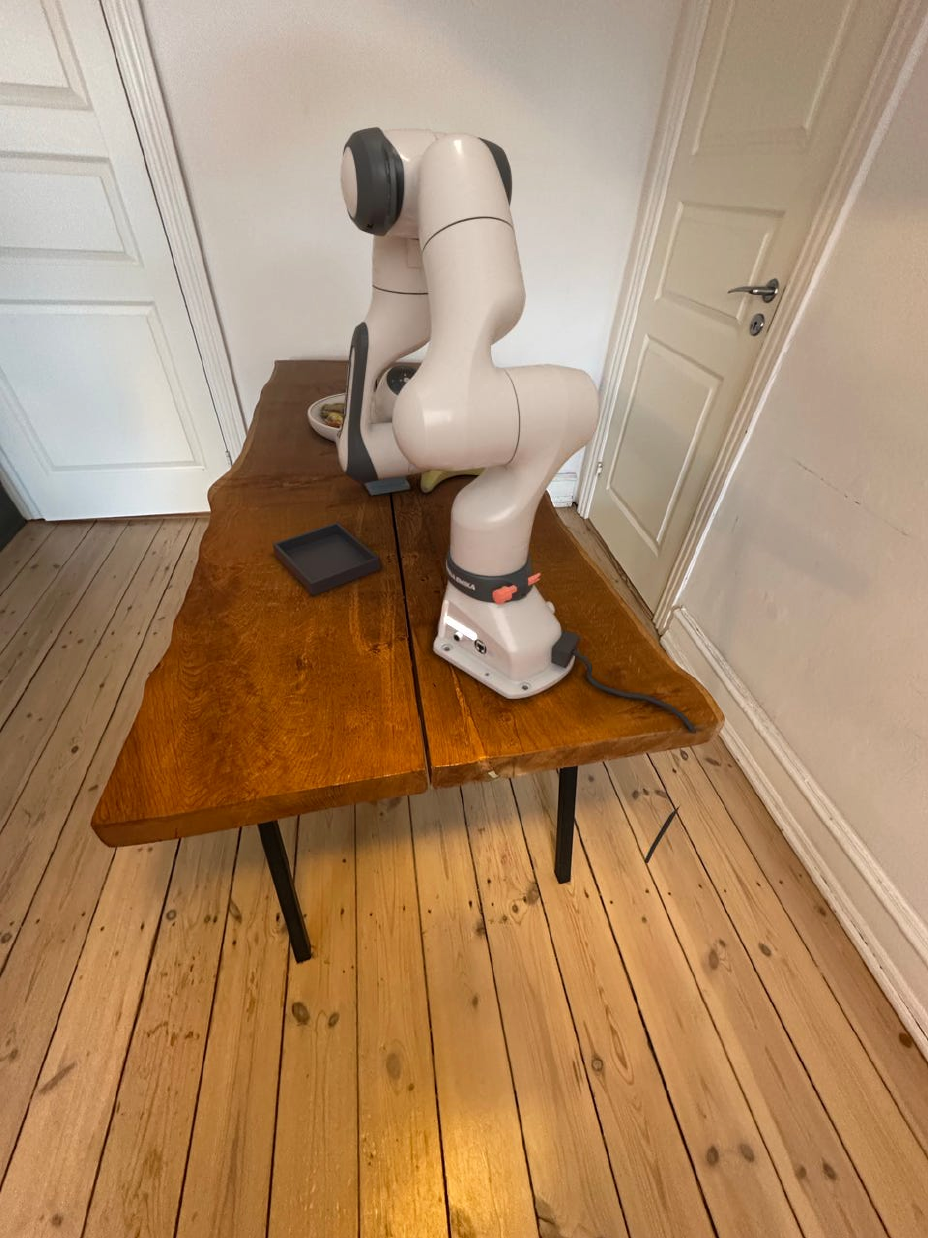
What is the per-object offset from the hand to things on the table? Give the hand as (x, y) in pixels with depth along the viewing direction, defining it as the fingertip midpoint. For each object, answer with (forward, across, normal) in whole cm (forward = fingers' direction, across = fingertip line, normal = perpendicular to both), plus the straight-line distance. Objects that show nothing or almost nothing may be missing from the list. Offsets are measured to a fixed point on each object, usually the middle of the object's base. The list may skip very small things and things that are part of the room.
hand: (378, 450), depth 122 cm
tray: (-16, -19, -26) cm, 36 cm away
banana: (-1, +18, -11) cm, 21 cm away
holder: (+4, 0, -5) cm, 7 cm away
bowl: (+26, +5, +16) cm, 31 cm away
